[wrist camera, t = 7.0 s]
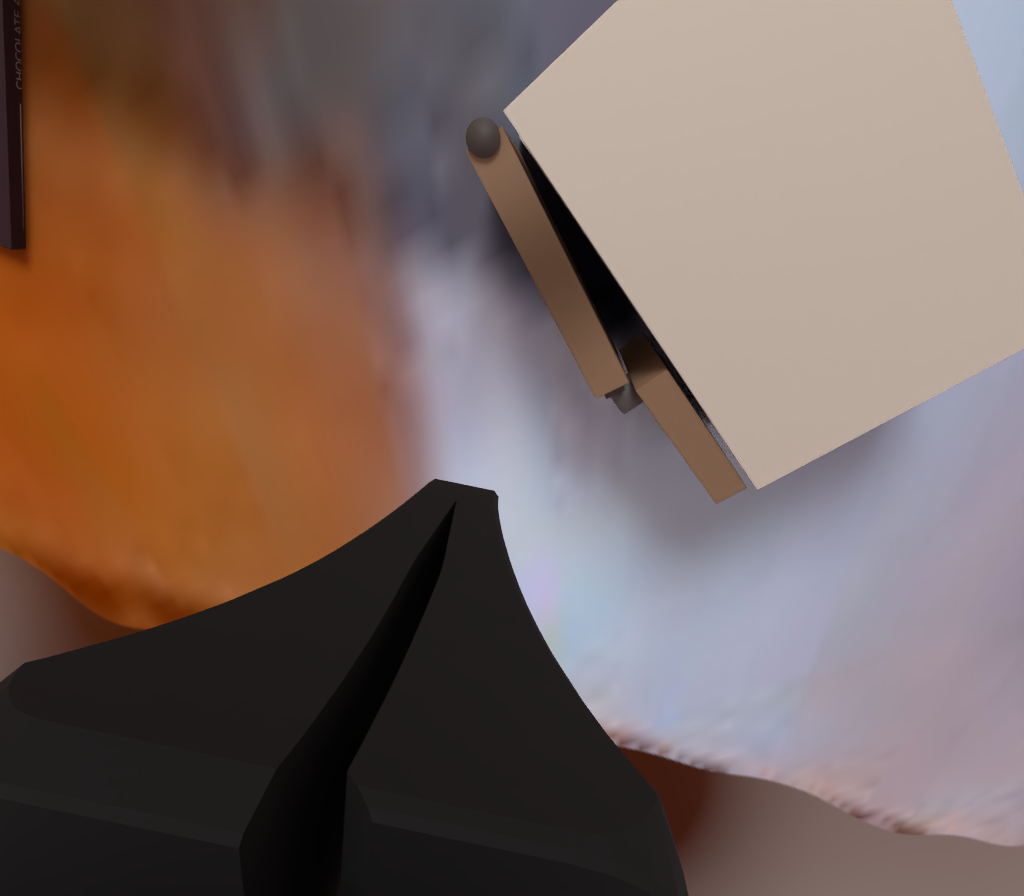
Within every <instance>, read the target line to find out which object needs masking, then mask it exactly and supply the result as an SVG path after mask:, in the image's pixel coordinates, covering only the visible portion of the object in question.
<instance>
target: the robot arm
mask: <svg viewBox="0 0 1024 896" xmlns="http://www.w3.org/2000/svg"><path fill="white" fill-rule="evenodd" d="M0 896H688V891H687V887H686V882H685V878H684V874H683V870H682V867H681V863H680V860H679V856H678V853H677V849H676V846H675V842H674V839H673V836H672V832H671V829H670V826H669V823H668V820H667V817H666V814H665V810H664V807H663V805H662V802H661V799H660V797H659V795H658V794H657V793H656V792H655V790H654V789H653V788H652V787H651V786H650V785H649V783H648V782H647V781H646V780H645V779H644V778H643V776H642V775H641V774H640V773H639V772H638V770H637V769H636V768H635V767H634V766H633V765H632V763H631V762H630V761H629V760H628V759H627V757H626V756H625V755H624V754H623V753H622V752H621V750H620V749H619V748H618V747H617V746H616V745H615V743H614V742H613V741H612V740H611V739H610V737H609V736H608V735H607V734H606V732H605V731H604V729H603V728H602V727H601V725H600V724H599V723H598V721H597V720H596V719H595V717H594V716H593V715H592V713H591V712H590V710H589V709H588V708H587V706H586V705H585V704H584V702H583V701H582V699H581V698H580V696H579V695H578V693H577V691H576V690H575V688H574V687H573V685H572V684H571V682H570V681H569V679H568V678H567V676H566V674H565V673H564V671H563V670H562V668H561V667H560V665H559V664H558V662H557V660H556V659H555V657H554V656H553V654H552V652H551V651H550V649H549V647H548V645H547V643H546V641H545V640H544V638H543V636H542V634H541V632H540V631H539V629H538V627H537V625H536V623H535V621H534V619H533V616H532V614H531V612H530V610H529V608H528V606H527V604H526V602H525V599H524V597H523V594H522V592H521V590H520V587H519V585H518V582H517V579H516V577H515V574H514V571H513V568H512V565H511V562H510V559H509V556H508V553H507V549H506V546H505V542H504V539H503V534H502V530H501V525H500V519H499V512H498V496H497V494H496V493H495V491H492V490H487V489H483V488H478V487H473V486H468V485H463V484H458V483H453V482H448V481H444V480H439V479H434V480H433V481H431V482H429V483H428V484H427V485H426V486H425V487H423V488H422V489H421V490H420V491H419V492H417V493H416V494H415V495H414V496H412V497H411V498H410V499H409V500H407V501H406V502H405V503H404V504H402V505H401V506H400V507H398V508H397V509H396V510H394V511H393V512H392V513H390V514H389V515H388V516H386V517H385V518H384V519H382V520H381V521H379V522H378V523H377V524H375V525H374V526H372V527H371V528H370V529H368V530H367V531H365V532H363V533H362V534H360V535H359V536H357V537H356V538H354V539H353V540H351V541H349V542H348V543H346V544H345V545H343V546H342V547H340V548H339V549H337V550H335V551H334V552H332V553H330V554H328V555H327V556H325V557H323V558H321V559H320V560H318V561H316V562H314V563H312V564H310V565H308V566H306V567H304V568H303V569H301V570H299V571H297V572H295V573H293V574H291V575H288V576H286V577H284V578H282V579H280V580H277V581H275V582H273V583H270V584H268V585H266V586H263V587H261V588H259V589H256V590H254V591H252V592H249V593H247V594H245V595H242V596H240V597H237V598H235V599H233V600H230V601H228V602H225V603H223V604H220V605H217V606H215V607H212V608H209V609H206V610H204V611H201V612H198V613H195V614H193V615H190V616H187V617H184V618H181V619H178V620H175V621H172V622H169V623H166V624H163V625H160V626H157V627H154V628H150V629H147V630H144V631H141V632H137V633H134V634H131V635H127V636H124V637H120V638H117V639H113V640H109V641H106V642H102V643H98V644H95V645H91V646H87V647H84V648H80V649H76V650H73V651H69V652H65V653H62V654H58V655H55V656H51V657H47V658H43V659H39V660H35V661H31V662H27V663H24V664H23V665H22V666H20V667H19V668H18V669H17V670H15V671H14V672H13V673H11V674H10V675H9V676H7V677H6V678H5V679H4V680H3V681H1V682H0Z"/></svg>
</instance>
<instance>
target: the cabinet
mask: <svg viewBox="0 0 1024 896" xmlns="http://www.w3.org/2000/svg"><path fill="white" fill-rule="evenodd" d="M503 111H504V113H505V114H506V116H507V117H508V119H509V120H510V122H511V123H512V125H513V126H514V128H515V129H516V131H517V132H518V134H519V135H520V136H519V138H520V139H521V141H522V142H523V144H524V145H525V147H526V148H527V150H528V151H529V153H530V154H531V156H532V157H533V159H534V160H535V162H536V163H537V165H538V166H539V168H540V169H541V171H542V172H543V174H544V175H545V177H546V178H547V180H548V181H549V183H550V184H551V186H552V187H553V189H554V190H555V192H556V193H557V195H558V196H559V198H560V199H561V200H562V202H563V203H564V205H565V206H566V208H567V209H568V211H569V212H570V214H571V215H572V217H573V218H574V220H575V221H576V223H577V224H578V226H579V227H580V229H581V230H582V232H583V233H584V235H585V236H586V238H587V239H588V241H589V242H590V244H591V245H592V247H593V248H594V250H595V251H596V253H597V254H598V256H599V257H600V259H601V260H602V262H603V263H604V265H605V266H606V268H607V269H608V271H609V272H610V273H611V275H612V276H613V278H614V279H615V281H616V282H617V284H618V285H619V287H620V288H621V290H622V291H623V293H624V294H625V296H626V297H627V299H628V300H629V302H630V303H631V305H632V306H633V308H634V309H635V311H636V312H637V314H638V315H639V317H640V318H641V320H642V321H643V323H644V324H645V326H646V327H647V329H648V330H649V332H650V333H651V335H652V336H653V338H654V339H655V341H656V342H657V344H658V345H659V346H660V348H661V349H662V351H663V352H664V354H665V355H666V357H667V358H668V360H669V361H670V363H671V364H672V366H673V367H674V369H675V370H676V372H677V373H678V375H679V376H680V378H681V379H682V381H683V382H684V384H685V385H686V387H687V388H688V390H689V391H690V393H691V394H692V396H693V397H694V399H695V400H696V402H697V403H698V405H699V406H700V408H701V409H702V411H703V412H704V414H705V415H706V417H707V418H708V419H709V421H710V422H711V424H712V425H713V427H714V428H715V430H716V431H718V432H719V434H720V435H721V437H722V438H723V440H724V441H725V443H726V444H727V446H728V447H729V449H730V450H731V452H732V453H733V455H734V456H735V458H736V459H737V461H738V462H739V464H740V465H741V467H742V468H743V470H744V471H745V473H746V474H747V475H748V477H749V478H750V480H751V481H752V483H753V484H754V486H755V487H756V489H757V490H758V489H760V488H762V487H764V486H766V485H768V484H770V483H771V482H773V481H775V480H777V479H779V478H781V477H783V476H785V475H787V474H788V473H790V472H792V471H794V470H796V469H798V468H800V467H802V466H804V465H805V464H807V463H809V462H811V461H813V460H815V459H817V458H819V457H821V456H822V455H824V454H826V453H828V452H830V451H832V450H834V449H836V448H837V447H839V446H841V445H843V444H845V443H847V442H849V441H851V440H853V439H854V438H856V437H858V436H860V435H862V434H864V433H866V432H868V431H870V430H871V429H873V428H875V427H877V426H879V425H881V424H883V423H885V422H886V421H888V420H890V419H892V418H894V417H896V416H898V415H900V414H902V413H903V412H905V411H907V410H909V409H911V408H913V407H915V406H917V405H919V404H920V403H922V402H924V401H926V400H928V399H930V398H932V397H934V396H936V395H937V394H939V393H941V392H943V391H945V390H947V389H949V388H951V387H952V386H954V385H956V384H958V383H960V382H962V381H964V380H966V379H968V378H969V377H971V376H973V375H975V374H977V373H979V372H981V371H983V370H985V369H986V368H988V367H990V366H992V365H994V364H996V363H998V362H1000V361H1001V360H1003V359H1005V358H1007V357H1009V356H1011V355H1013V354H1015V353H1017V352H1018V351H1020V350H1022V349H1024V194H1023V191H1022V189H1021V186H1020V183H1019V181H1018V178H1017V175H1016V173H1015V170H1014V167H1013V164H1012V162H1011V159H1010V156H1009V154H1008V151H1007V148H1006V146H1005V143H1004V140H1003V137H1002V135H1001V132H1000V129H999V127H998V124H997V121H996V119H995V116H994V113H993V110H992V108H991V105H990V102H989V100H988V97H987V94H986V92H985V89H984V86H983V83H982V81H981V78H980V75H979V73H978V70H977V67H976V65H975V62H974V59H973V56H972V54H971V51H970V48H969V46H968V43H967V40H966V38H965V35H964V32H963V29H962V27H961V24H960V21H959V19H958V16H957V13H956V11H955V8H954V5H953V2H952V0H617V1H616V2H615V3H614V4H613V5H612V6H611V7H610V8H609V9H608V10H607V11H606V12H605V13H604V14H603V15H602V16H601V17H600V18H599V19H598V20H597V21H596V22H595V23H594V24H593V25H592V26H591V27H589V28H588V29H587V30H586V31H585V32H584V33H583V34H582V35H581V36H580V37H579V38H578V39H577V40H576V41H575V42H574V43H573V44H572V45H571V46H570V47H569V48H568V49H567V50H566V51H565V52H564V53H563V54H561V55H560V56H559V57H558V58H557V59H556V60H555V61H554V62H553V63H552V64H551V65H550V66H549V67H548V68H547V69H546V70H545V71H544V72H543V73H542V74H541V75H540V76H539V77H538V78H537V79H536V80H535V81H533V82H532V83H531V84H530V85H529V86H528V87H527V88H526V89H525V90H524V91H523V92H522V93H521V94H520V95H519V96H518V97H517V98H516V99H515V100H514V101H513V102H512V103H511V104H510V105H509V106H508V107H507V108H506V109H504V110H503ZM619 351H620V353H621V356H622V358H623V361H624V363H625V366H626V368H627V370H628V374H626V377H627V379H628V382H629V383H627V384H625V385H624V387H625V390H624V391H622V392H620V393H618V394H616V395H614V396H612V397H611V398H612V399H613V401H614V402H615V404H616V405H617V407H618V408H619V409H620V410H621V412H622V413H624V414H625V413H627V412H628V411H630V410H631V409H633V408H634V407H636V406H637V405H639V404H641V403H642V402H644V403H645V404H646V406H647V407H648V409H649V410H650V411H651V413H652V414H653V416H654V417H655V419H656V420H657V421H658V423H659V424H660V426H661V427H662V428H663V430H664V431H665V433H666V434H667V435H668V437H669V438H670V440H671V441H672V442H673V444H674V445H675V447H676V448H677V449H678V451H679V452H680V454H681V455H682V456H683V458H684V459H685V461H686V462H687V464H688V465H689V466H690V468H691V469H692V471H693V472H694V473H695V475H696V476H697V478H698V479H699V480H700V482H701V483H702V485H703V486H704V487H705V489H706V490H707V492H708V493H709V494H710V496H711V497H712V499H713V500H714V502H715V503H716V504H717V503H719V502H721V501H723V500H725V499H727V498H729V497H730V496H732V495H734V494H736V493H738V492H740V491H742V490H744V489H745V488H747V487H746V485H745V484H744V482H743V481H742V479H741V478H740V476H739V475H738V473H737V472H736V470H735V469H734V467H733V466H732V464H731V463H730V461H729V460H728V458H727V457H726V455H725V454H724V452H723V451H722V449H721V447H720V446H719V444H718V443H717V441H716V440H715V438H714V437H713V435H712V434H711V432H710V431H709V429H708V428H707V426H706V425H705V424H704V422H703V421H702V419H701V418H700V416H699V415H698V413H697V412H696V410H695V409H694V407H693V406H692V404H691V403H690V401H689V400H688V398H687V397H686V395H685V394H684V392H683V391H682V390H681V388H680V387H679V385H678V384H677V382H676V381H675V379H674V378H673V376H672V375H671V373H670V372H669V370H668V369H667V367H666V366H665V364H664V363H663V361H662V360H661V358H660V357H659V356H658V354H657V353H656V351H655V350H654V348H653V347H652V345H651V344H650V342H649V341H648V339H647V338H646V336H645V335H644V333H642V334H640V335H639V336H637V337H636V338H635V339H633V340H632V341H630V342H629V343H627V344H626V345H625V346H623V347H622V348H620V349H619Z"/></svg>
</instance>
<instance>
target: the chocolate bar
mask: <svg viewBox="0 0 1024 896" xmlns="http://www.w3.org/2000/svg"><path fill="white" fill-rule="evenodd" d="M0 245H1V246H4V247H6V248H8V249H11V250H16V249H26V240H25V201H24V162H23V122H22V83H21V43H20V4H19V0H0Z"/></svg>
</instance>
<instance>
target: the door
mask: <svg viewBox="0 0 1024 896" xmlns="http://www.w3.org/2000/svg"><path fill="white" fill-rule="evenodd" d="M466 142H467V146H468V148H469V149H468V150H466V153H467V154H468V156H469V158H470V160H471V162H472V164H473V166H474V168H475V170H476V172H477V173H478V175H479V177H480V179H481V181H482V183H483V185H484V187H485V189H486V191H487V193H488V194H489V196H490V198H491V200H492V202H493V204H494V206H495V208H496V210H497V212H498V213H499V215H500V217H501V219H502V221H503V223H504V225H505V227H506V229H507V231H508V232H509V234H510V236H511V238H512V240H513V242H514V244H515V246H516V248H517V250H518V251H519V253H520V255H521V257H522V259H523V261H524V263H525V265H526V267H527V269H528V270H529V272H530V274H531V276H532V278H533V280H534V282H535V284H536V286H537V288H538V289H539V291H540V293H541V295H542V297H543V299H544V301H545V303H546V305H547V307H548V308H549V310H550V312H551V314H552V316H553V318H554V320H555V322H556V324H557V326H558V327H559V329H560V331H561V333H562V335H563V337H564V339H565V341H566V343H567V345H568V347H569V348H570V350H571V352H572V354H573V356H574V358H575V360H576V362H577V364H578V366H579V367H580V369H581V371H582V373H583V375H584V377H585V379H586V381H587V383H588V385H589V386H590V388H591V390H592V392H593V394H594V396H595V398H598V397H600V396H602V395H605V397H606V399H607V398H610V397H612V396H614V395H616V394H618V393H620V392H622V391H624V390H625V387H624V385H625V384H627V383H629V382H628V379H627V377H626V374H625V371H624V369H623V366H622V363H621V361H620V358H619V356H618V353H617V350H616V348H615V345H614V343H613V341H612V339H611V337H610V335H609V333H608V330H607V328H606V326H605V324H604V322H603V320H602V318H601V316H600V314H599V312H598V310H597V308H596V306H595V304H594V302H593V300H592V298H591V296H590V294H589V292H588V290H587V288H586V286H585V284H584V282H583V280H582V277H581V275H580V273H579V271H578V269H577V267H576V265H575V263H574V261H573V259H572V257H571V255H570V253H569V251H568V249H567V247H566V245H565V243H564V241H563V239H562V237H561V235H560V233H559V231H558V229H557V227H556V224H555V222H554V220H553V218H552V216H551V214H550V212H549V210H548V208H547V206H546V204H545V202H544V200H543V198H542V196H541V194H540V192H539V190H538V188H537V186H536V184H535V182H534V180H533V178H532V176H531V174H530V171H529V169H528V167H527V165H526V163H525V161H524V159H523V157H522V155H521V153H520V151H519V149H518V147H517V146H516V145H515V143H514V142H513V140H512V139H511V138H510V136H509V135H508V133H507V132H506V131H505V129H504V128H503V126H501V127H499V128H498V127H497V125H496V124H495V123H494V122H493V121H492V120H490V119H488V118H478V119H476V120H474V121H473V122H472V123H471V124H470V125H469V127H468V129H467V132H466Z"/></svg>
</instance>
